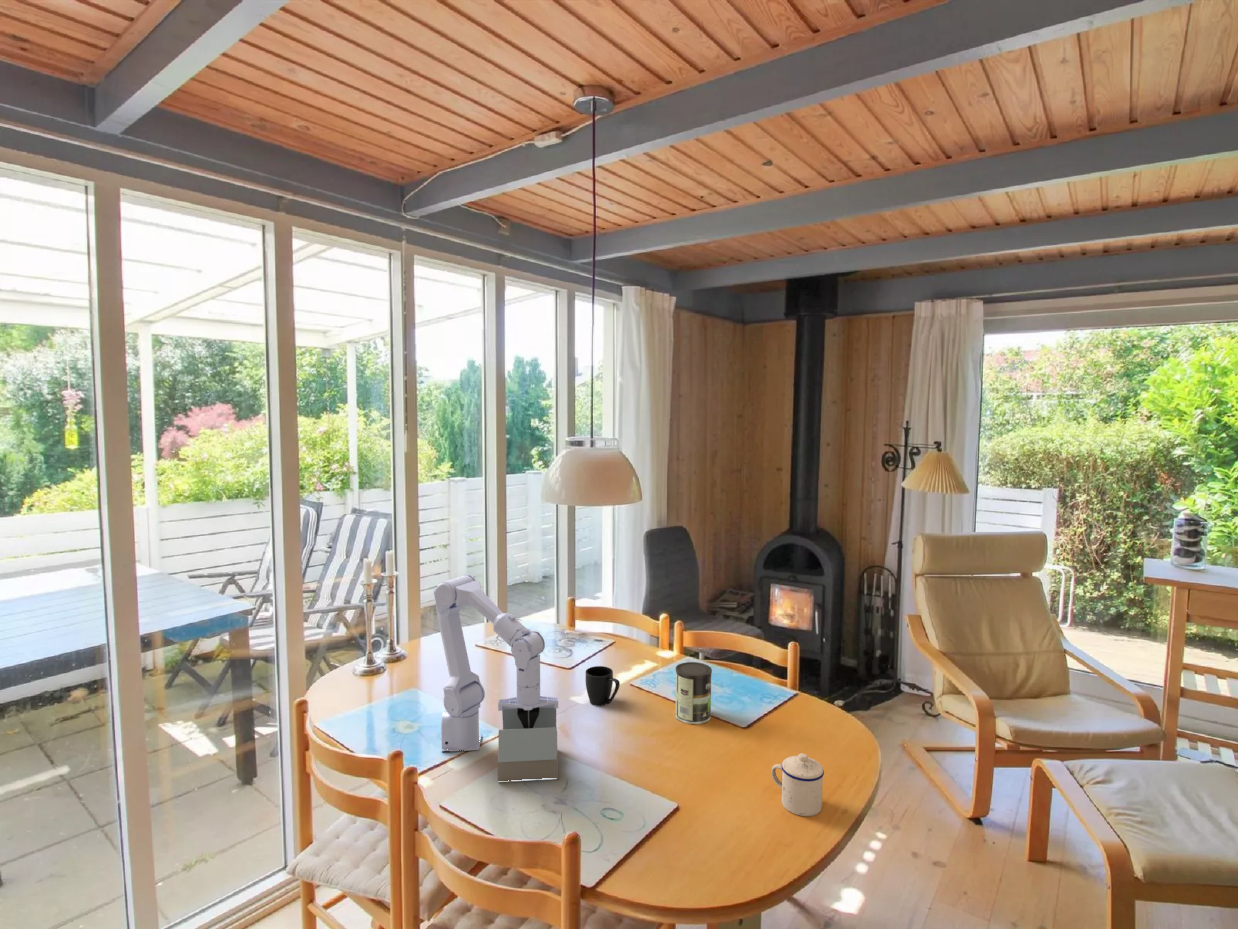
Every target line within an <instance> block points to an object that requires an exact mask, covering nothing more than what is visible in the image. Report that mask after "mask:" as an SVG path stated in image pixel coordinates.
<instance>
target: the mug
mask: <svg viewBox="0 0 1238 929" xmlns="http://www.w3.org/2000/svg"><path fill="white" fill-rule="evenodd" d="M614 683H615V688H614V690H613V692H612V689H613V684H614ZM620 685H621V683H620V680H619V679H617V678H614V670H613V669H612V668H611V667H608V666H602V665H597V666H596V665H595V666H590V667H588V668H587V669H586V670H585V687H586V693H587V697H588V701H589V703H590V704H591V705H592V706H595V707H602V706H606V705H609V704H611V703H612V702H613V700H614V698H615V697H616V695H617V693H618V691H619V689H620Z"/></svg>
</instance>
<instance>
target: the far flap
mask: <svg viewBox="0 0 1238 929" xmlns="http://www.w3.org/2000/svg"><path fill="white" fill-rule="evenodd" d="M501 713H502V716H501V717H502V730H506V729H524V728H523V725H522V723H521V721H520V719H519V718H518V715H517V709H503V710H502V711H501ZM528 725H529V710H528ZM552 727H557V708H554V707H548V708H540V709H539V716H538V718H537V720H536V722H535V724H534V727H533V728H552Z"/></svg>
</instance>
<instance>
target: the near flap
mask: <svg viewBox="0 0 1238 929" xmlns="http://www.w3.org/2000/svg"><path fill="white" fill-rule="evenodd" d="M497 745H498V748H497V749H498V750H497V752H498V755H497V758H498V759H497V763H498V762H511V761H532V760H552V759H557V754H558V728H557V726H556V727H552V728H529V729H506V730H503V729H498V744H497Z"/></svg>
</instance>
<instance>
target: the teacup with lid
mask: <svg viewBox="0 0 1238 929" xmlns="http://www.w3.org/2000/svg"><path fill="white" fill-rule="evenodd" d="M776 769H779V770H781V771H782V776H781V777H782V779H781V780H780V779H779V777H778V776H777V773H776ZM770 772H771V773H770V774H771V777H772V778H771V779H772V780H773V782H774V783H775V785H777V786H778V787H780V788H781V804H782V806H783V808H785V809H786V810H787V811H789V813H792V814H794V815H796V816H801V817H812V816H816V815H817V814H819V813H820V812H821V811H822V806H823V805H822V804H823V780H824V779H823V778H824V777H823V776H824V774H825V771H824V767H823V766H822V764H821V763H820V762H819V761H817V760H816V759H814V758H811V757H809V756H808V754H806V753H803V752H801V753H799V754H798V755H791V756H788V757H786V758H785V759H783V761H782V763H781V764H780V763H776V764H774V765H773V766H772V767H771V769H770Z"/></svg>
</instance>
